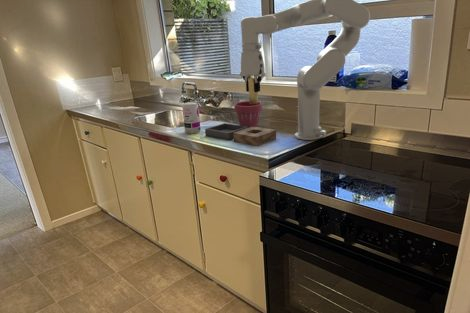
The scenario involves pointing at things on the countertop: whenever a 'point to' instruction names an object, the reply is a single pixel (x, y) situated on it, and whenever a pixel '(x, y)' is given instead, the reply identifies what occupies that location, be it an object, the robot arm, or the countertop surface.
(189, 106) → the supplement can
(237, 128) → the black tray
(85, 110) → the countertop surface
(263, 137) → the wooden block with hole
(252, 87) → the brass pin
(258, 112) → the plant pot
